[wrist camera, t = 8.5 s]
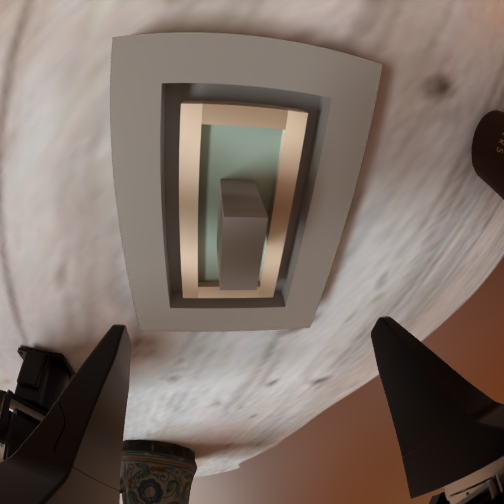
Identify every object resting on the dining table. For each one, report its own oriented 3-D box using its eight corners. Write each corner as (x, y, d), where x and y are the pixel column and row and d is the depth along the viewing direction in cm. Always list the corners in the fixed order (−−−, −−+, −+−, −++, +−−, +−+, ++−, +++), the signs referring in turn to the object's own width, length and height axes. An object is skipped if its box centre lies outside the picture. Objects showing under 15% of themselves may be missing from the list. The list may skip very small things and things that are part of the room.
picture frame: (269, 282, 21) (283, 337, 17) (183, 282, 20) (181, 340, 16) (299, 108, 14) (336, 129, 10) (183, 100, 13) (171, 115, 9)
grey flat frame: (303, 309, 24) (310, 327, 22) (143, 310, 22) (140, 330, 20) (364, 62, 13) (382, 64, 12) (124, 40, 11) (112, 37, 9)
